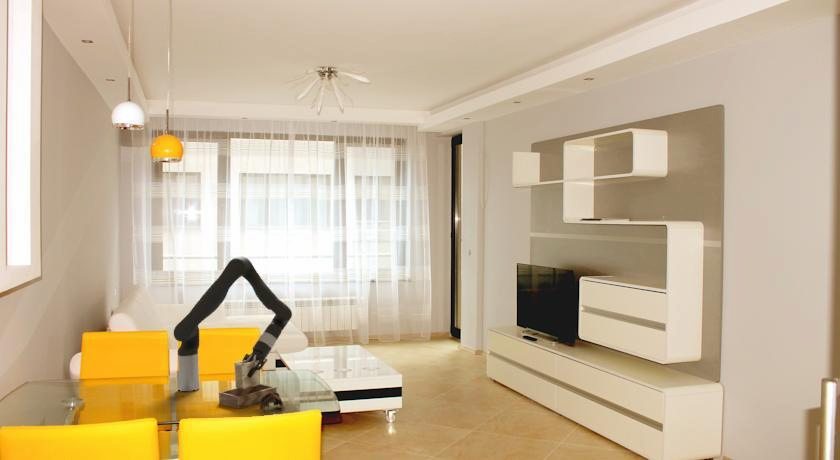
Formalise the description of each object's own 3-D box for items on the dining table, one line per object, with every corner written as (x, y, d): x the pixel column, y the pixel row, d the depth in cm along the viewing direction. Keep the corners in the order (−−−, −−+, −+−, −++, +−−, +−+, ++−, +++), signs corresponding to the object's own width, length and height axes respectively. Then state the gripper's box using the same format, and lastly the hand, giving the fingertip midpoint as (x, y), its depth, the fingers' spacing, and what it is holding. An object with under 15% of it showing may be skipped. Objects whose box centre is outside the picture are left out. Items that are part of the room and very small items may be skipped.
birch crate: (243, 389, 285) (242, 364, 285) (235, 387, 289) (234, 362, 288) (260, 384, 292) (259, 360, 292) (252, 382, 296) (251, 358, 295)
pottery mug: (283, 413, 270) (272, 398, 269) (264, 423, 272) (253, 408, 270) (289, 398, 282) (279, 383, 280) (271, 407, 284) (261, 393, 282)
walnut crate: (239, 408, 278) (239, 397, 278) (219, 403, 287) (218, 392, 287) (276, 397, 293) (276, 386, 293) (256, 393, 303) (256, 382, 303)
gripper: (250, 338, 300) (229, 369, 291) (269, 341, 291) (248, 373, 282) (260, 348, 304) (239, 378, 295) (279, 350, 295) (259, 382, 286)
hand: (244, 375), depth 289 cm, fingers closed on birch crate, 6 cm apart
